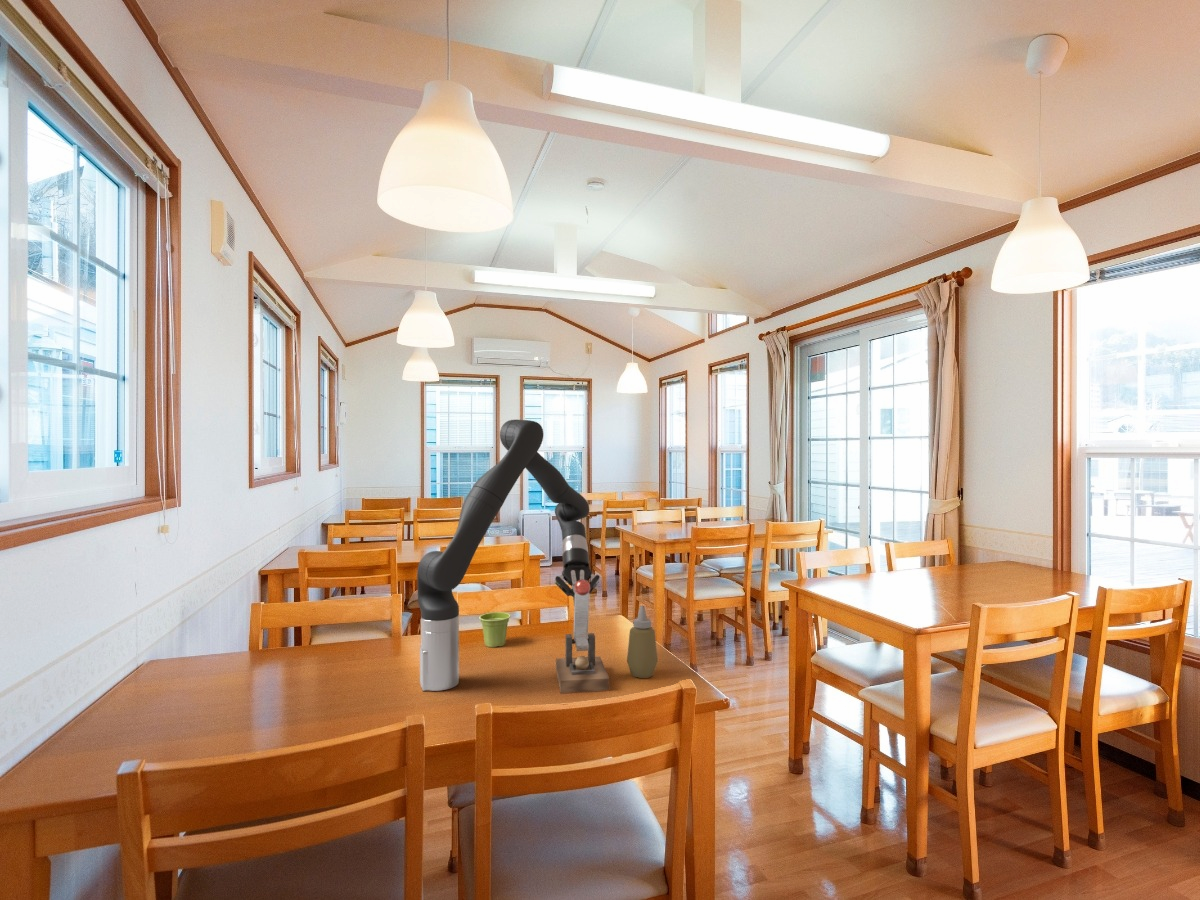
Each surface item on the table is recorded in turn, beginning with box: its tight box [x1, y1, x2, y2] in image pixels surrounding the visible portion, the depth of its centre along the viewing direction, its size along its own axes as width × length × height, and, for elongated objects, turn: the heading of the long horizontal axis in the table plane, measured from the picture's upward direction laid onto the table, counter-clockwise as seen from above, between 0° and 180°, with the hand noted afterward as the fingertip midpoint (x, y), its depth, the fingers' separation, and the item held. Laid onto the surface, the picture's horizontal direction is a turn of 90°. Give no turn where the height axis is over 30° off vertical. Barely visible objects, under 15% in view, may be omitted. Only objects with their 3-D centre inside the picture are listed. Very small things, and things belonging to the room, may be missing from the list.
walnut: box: [575, 655, 589, 670], centre depth 154 cm, size 4×4×4 cm
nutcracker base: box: [555, 632, 610, 694], centre depth 155 cm, size 12×16×10 cm
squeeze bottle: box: [626, 605, 659, 679], centre depth 159 cm, size 8×8×18 cm
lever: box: [572, 579, 591, 652], centre depth 154 cm, size 4×8×17 cm, turn 8°
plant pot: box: [478, 611, 511, 648], centre depth 184 cm, size 9×9×9 cm
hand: (579, 607), depth 162 cm, fingers closed
